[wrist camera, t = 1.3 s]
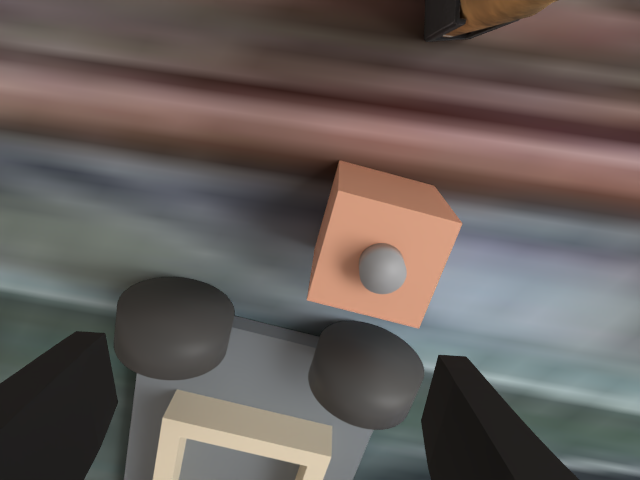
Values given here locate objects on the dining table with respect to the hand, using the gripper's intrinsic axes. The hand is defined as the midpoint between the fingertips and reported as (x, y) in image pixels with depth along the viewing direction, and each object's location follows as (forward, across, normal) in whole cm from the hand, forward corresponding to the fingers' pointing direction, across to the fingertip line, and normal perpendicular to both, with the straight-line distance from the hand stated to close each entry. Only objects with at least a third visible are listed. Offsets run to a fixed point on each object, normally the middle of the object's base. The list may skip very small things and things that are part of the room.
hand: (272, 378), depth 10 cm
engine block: (+11, -4, +1) cm, 12 cm away
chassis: (+10, +2, +16) cm, 19 cm away
